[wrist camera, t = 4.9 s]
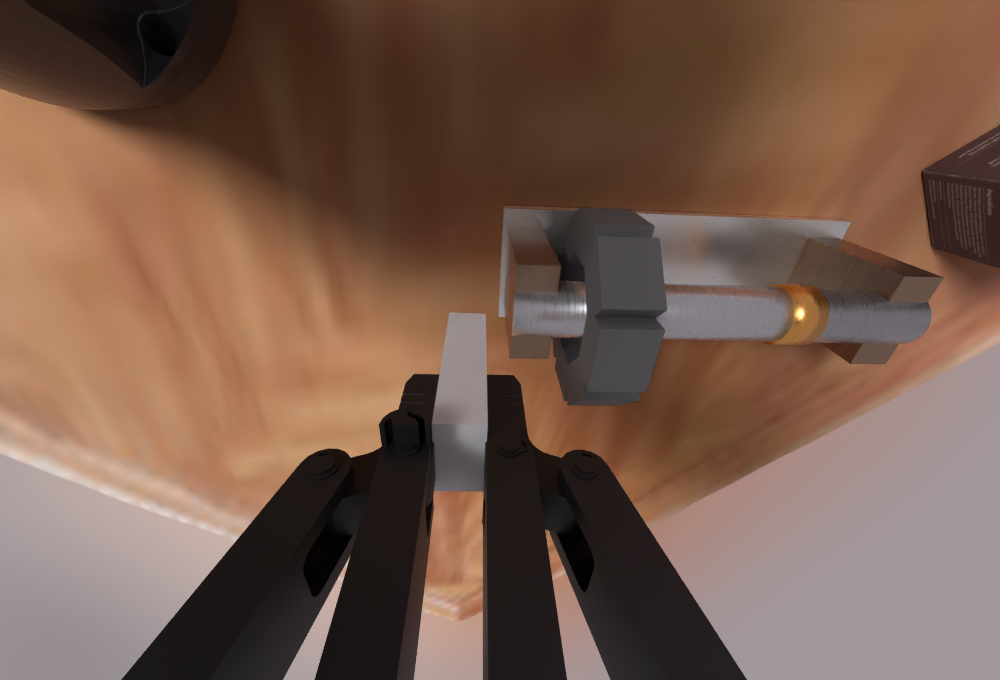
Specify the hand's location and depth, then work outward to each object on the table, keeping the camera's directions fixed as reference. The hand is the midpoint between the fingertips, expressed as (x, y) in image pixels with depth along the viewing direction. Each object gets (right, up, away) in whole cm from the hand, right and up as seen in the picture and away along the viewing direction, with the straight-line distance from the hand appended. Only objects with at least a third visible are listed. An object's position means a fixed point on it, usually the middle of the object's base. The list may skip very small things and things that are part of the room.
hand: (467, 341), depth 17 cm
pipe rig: (+12, +5, +9) cm, 16 cm away
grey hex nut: (+6, +4, +7) cm, 10 cm away
